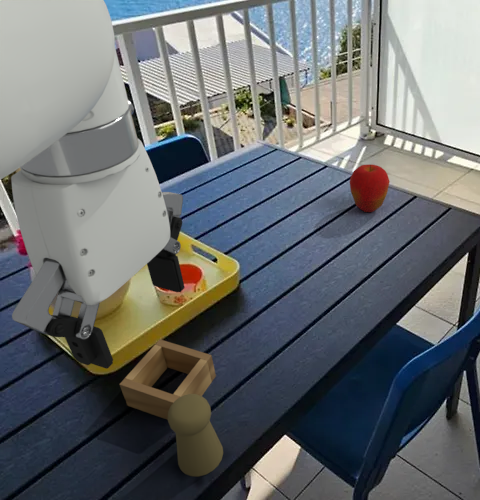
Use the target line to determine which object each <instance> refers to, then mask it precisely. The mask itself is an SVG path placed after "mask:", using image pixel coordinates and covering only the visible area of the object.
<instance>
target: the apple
mask: <svg viewBox="0 0 480 500" xmlns="http://www.w3.org/2000/svg"><path fill="white" fill-rule="evenodd" d="M390 182H391V181H390V178H389V174H388V173H387V171H386V170H385V169H384V168H383V167H382V166H379V165H377V164H361V165H359V166H358V167H357V168H356V169H354V170H353V172H352V174H351V176H350V178H349V187H350V193H351V196H352V198H353V201H354V203H355V205H356V207H357V208H358V209H360V210H361V211H362V212H365V213H374V212H375V211H376V210H378V209H380V208H381V207H382V206H383V204H384V202H385V199H386V198H387V195H388V192H389V187H390Z"/></svg>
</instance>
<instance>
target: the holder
mask: <svg viewBox="0 0 480 500" xmlns="http://www.w3.org/2000/svg"><path fill="white" fill-rule="evenodd" d="M167 369H170V370H174V371H177V372H181V373H183V374H187V375H186V377H185V378H184V379H183V381H181V383H180V384H179V386H178V387H177V389H176V390H175V391H174V392H173V393H170V392H167V391H164V390H162V389H159V388H155V387H153V386H154V385H155V383H156V382H157V381H158V380H159V379H160V378H161V376H162V375H163V374H164V373H165V372H166V370H167ZM216 377H217V374H216V370H215V365H214V360H213V357H212V354H209V353H206V352H203V351H199V350H196V349H193V348H189V347H187V346H183V345H180V344H176V343H174V342H171V341H167V340H164V339H158V341H157V342H156V343H155V344H154V345H153V346H152V347H151V348H150V350H149V351H148V352H147V353H146V354H145V355H144V356H143V357H142V358H141V359H140V360H139V362H138V363H137V364H136V365H135V366H134V367H133V368H132V370H130V372H129V373H128V374H127V375H126V376H125V377H124V378H123V380H122V381H121V382H120V383H119V387H120V389H121V392H122V395H123V397H124V401H125V403H126V406H127V407H130V408H133V409H137V410H138V411H141V412H144V413H147V414H150V415H153V416H156V417H159V418H162V419H165V420H167V421H168V412H169V409H170V407H171V405H172V404H173V403H174V401H176V400H177V399H178V398H179V397H182V396H184V395H187V394H197V395H200V396H202V397H203V395H204V394H205V392H206V391H207V389H208V388H209V387H210V386H211V384H212V383H213V381H214V380H215V379H216Z"/></svg>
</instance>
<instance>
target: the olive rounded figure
mask: <svg viewBox="0 0 480 500" xmlns="http://www.w3.org/2000/svg"><path fill="white" fill-rule="evenodd" d="M211 409H212V408H211V405H210V404H209V401H208V399H206V398H205V397H203V395H202V396H200V395H197V394H187V395H184V396H182V397H179V398H178V399H177V400H176V401H174V403H173V404H172V405H171V407H170V409H169V412H168V420H167V422H168V425H169V428H170V429H171V430H172V431H173V432H174V433H175V441H176V453H177V465H178V467H179V469H180V471H181V472H182V473H183V474H184V475H187V476H189V477H202V476H205V475H208V474H209V473H211V472H213V471H215V469H216V468H218V467H219V465H220V463H221V462H222V461H223V455H224V447H223V445H222V442H221V441H220V439H219V437H218V434H217V433H216V430H215V428H214V427H213V424H212V423H211V421H210V420H211V416H212V410H211Z"/></svg>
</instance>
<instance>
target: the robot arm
mask: <svg viewBox="0 0 480 500" xmlns="http://www.w3.org/2000/svg"><path fill="white" fill-rule="evenodd" d="M115 40H116V39H115V31H114V27H113V20H112V18H111V15H110V12H109V10H108V6H107V4H106V2H105V1H104V0H0V181H1V180H2V179H4V178H6V177H8V176H9V175H11V174H13V173H14V172H15V171H17V170H18V171H17V172H16V173H14V174H13V175H11V177H10V178H11V179H10V180H11V190H12V198H13V199H12V200H13V204H14V205H13V206H14V211H15V215H16V219H17V223H18V228H19V230H20V234H21V237H22V241H23V243H24V247H25V250H26V253H27V256H28V259H29V261H30V264H31V268H32V270H33V272H34V275H35V276H34V278H33V280H32V281H31V283H30V284H29V286H28V287H27V289H26V291H25V292H24V294H23V296H22V297H21V299H20V300H19V302H18V303H17V305H16V306H15V308H14V310H13V312H12V313H11V318H12V319H11V320H13V321H14V322H15V323H18V324H20V325H22V326H25V328H29V329H31V330H33V331H35V332H36V333H40V334H43V335H46V336H50V337H53V338H64V339H65V341H66V343H67V345H68V348H69V350H70V352H71V355H72V356H73V358H74V359H75V361H77V362H78V363H81V364H83V365H85V366H90V365H94V366H96V367H100V368H104V369H109V368H110V367H111V366H112V365H113V363H114V362H113V361H114V357H113V354H112V352H111V350H110V347H109V345H108V342H107V339H106V337H105V335H104V334H105V333H104V332H103V330H102V329H101V328H100V327H97V326H95V323H96V319H97V315H98V311H99V307H100V303H102V302H104V301H105V300H107V299H108V298H110V297H111V296H113V294H115V293H116V292H118V290H120V288H122V287H123V286H124V285H125V284H126V283H127V282H129V281H130V280H131V279H132V278H133V277H134V276H135V275H136V274H137V273H139V271H141V270H142V269H143V268H144V267H145V266H146V265H147V270H148V273H149V277H150V281H151V284H152V286H154V287H157V288H160V289H163V290H167V291H171V292H174V293H181V292H182V291H183V290H184V289H185V282H184V278H183V274H182V269H181V265H180V261H179V257H178V255H177V254H179V252H180V251H181V246H182V245H181V242H180V241H179V240H178V239H179V237H180V233H181V231H182V226H183V220H182V218H181V216H182V211H183V204H184V203H183V202H184V196H183V194H180V193H176V192H171V191H162V187H161V185H160V183H159V180H158V177H157V174H156V171H155V169H154V167H153V164H152V161H151V159H150V156H149V155H148V152H147V150H146V148H145V146H144V144H143V142H142V140H140V138H138V136H137V131H136V128H135V127H136V126H135V123H134V118H133V114H134V112H135V108H134V105H133V103H132V102H131V100H129V99H128V94H127V90H126V87H125V81H124V77H123V74H122V70H121V67H120V66H121V65H120V62H119V57H118V54H117V53H118V52H117V49H116V43H115V42H116V41H115ZM19 169H20V170H19ZM55 298H56V300H55ZM54 300H55V304H54V307H53V311H52V314H50V306H51V305H52V303H53V301H54ZM75 302H78V303H81V304H80V307H79V312H78V315H77V317H75V316H72V313H73V308H74V304H75Z"/></svg>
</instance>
